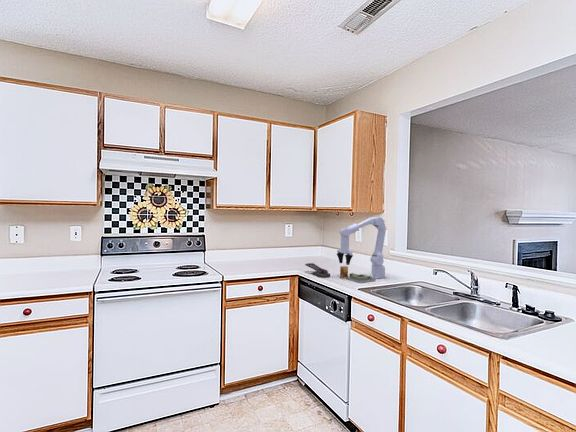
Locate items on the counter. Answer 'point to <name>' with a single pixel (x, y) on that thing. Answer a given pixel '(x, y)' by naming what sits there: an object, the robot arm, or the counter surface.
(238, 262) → the counter surface
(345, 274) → the wooden rectangular peg
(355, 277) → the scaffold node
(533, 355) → the counter surface
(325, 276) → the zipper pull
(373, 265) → the robot arm
